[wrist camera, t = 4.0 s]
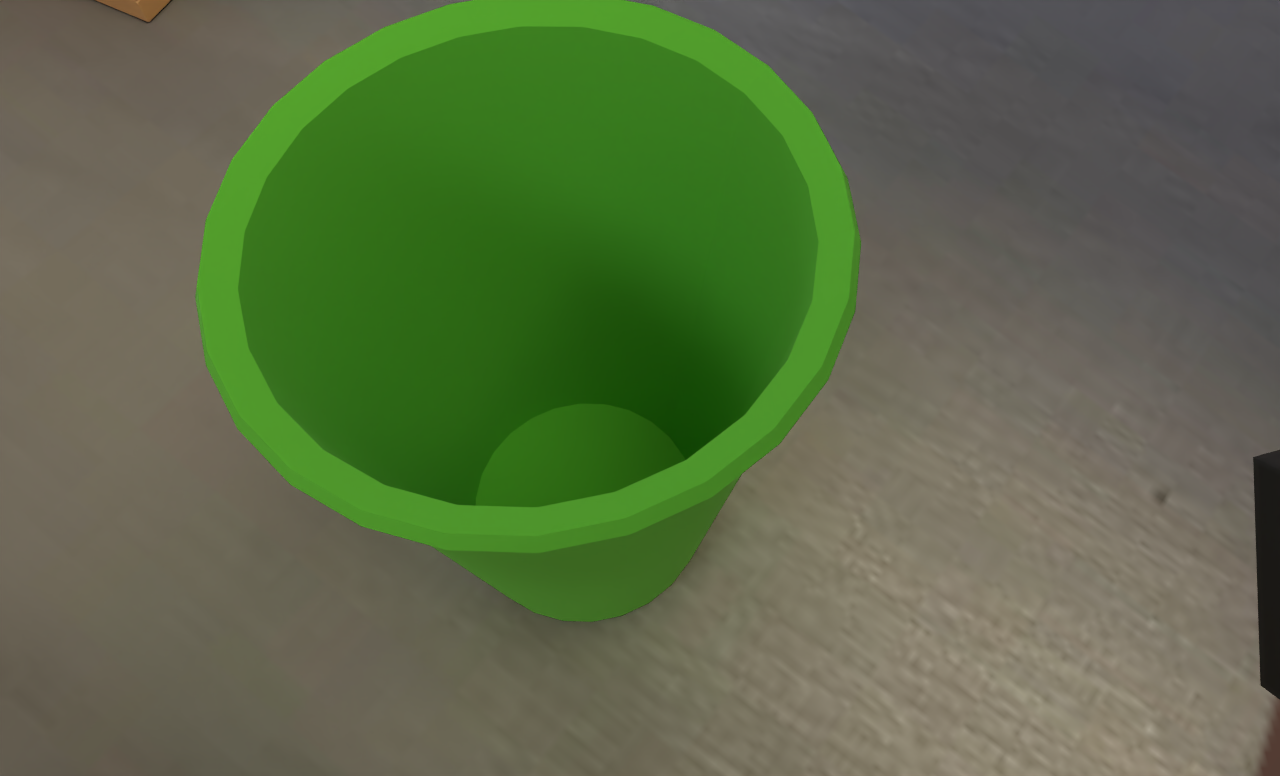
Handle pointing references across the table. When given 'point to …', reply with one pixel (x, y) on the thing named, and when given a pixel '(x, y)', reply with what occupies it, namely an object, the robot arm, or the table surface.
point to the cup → (531, 288)
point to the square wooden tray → (138, 7)
